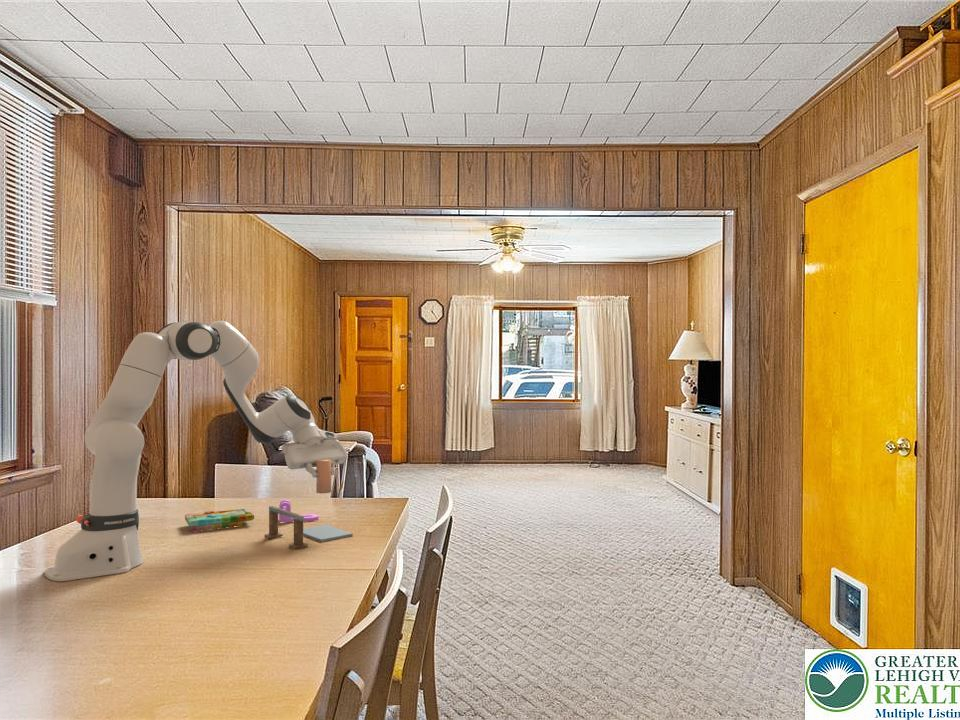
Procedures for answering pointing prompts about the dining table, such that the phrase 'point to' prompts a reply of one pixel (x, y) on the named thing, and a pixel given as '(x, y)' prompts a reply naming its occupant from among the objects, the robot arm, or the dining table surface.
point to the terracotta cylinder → (323, 476)
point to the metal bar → (286, 513)
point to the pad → (325, 533)
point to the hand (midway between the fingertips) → (324, 475)
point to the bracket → (288, 508)
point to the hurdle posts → (297, 531)
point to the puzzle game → (218, 519)
